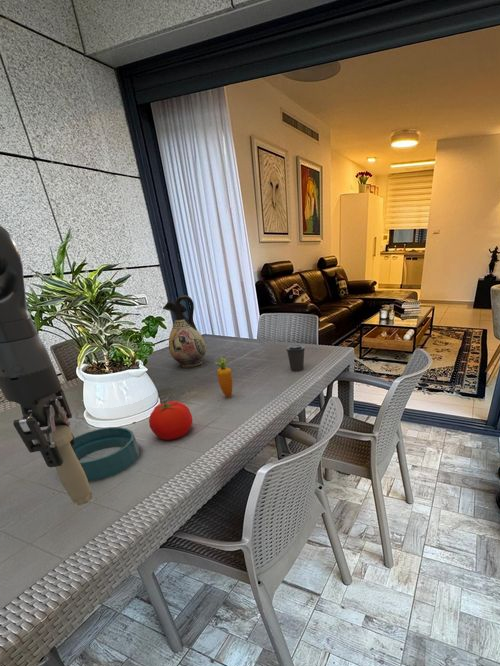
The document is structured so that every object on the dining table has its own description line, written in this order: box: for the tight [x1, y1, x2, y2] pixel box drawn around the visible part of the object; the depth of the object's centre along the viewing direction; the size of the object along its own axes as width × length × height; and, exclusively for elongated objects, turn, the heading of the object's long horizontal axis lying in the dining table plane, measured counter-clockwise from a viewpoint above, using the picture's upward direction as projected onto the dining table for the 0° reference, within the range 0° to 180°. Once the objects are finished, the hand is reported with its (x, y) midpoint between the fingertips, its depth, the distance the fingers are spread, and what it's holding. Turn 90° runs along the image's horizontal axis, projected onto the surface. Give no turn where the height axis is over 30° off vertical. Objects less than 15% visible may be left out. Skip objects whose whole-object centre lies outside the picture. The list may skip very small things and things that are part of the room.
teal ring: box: [71, 426, 141, 482], centre depth 91 cm, size 17×17×6 cm
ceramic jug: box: [162, 294, 207, 368], centre depth 153 cm, size 17×15×30 cm
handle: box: [44, 425, 93, 506], centre depth 65 cm, size 5×6×15 cm
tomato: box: [148, 399, 193, 441], centre depth 101 cm, size 12×12×10 cm
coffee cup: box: [285, 344, 306, 372], centre depth 147 cm, size 8×8×10 cm
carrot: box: [214, 356, 233, 399], centre depth 122 cm, size 5×5×15 cm
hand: (62, 454), depth 63 cm, fingers closed on handle, 6 cm apart
